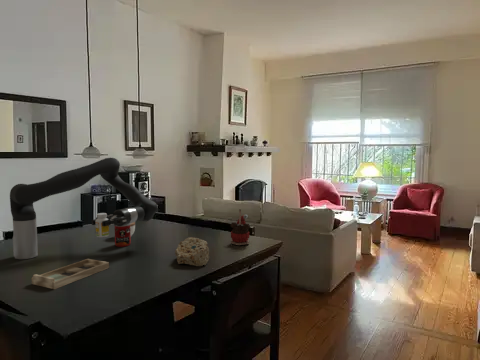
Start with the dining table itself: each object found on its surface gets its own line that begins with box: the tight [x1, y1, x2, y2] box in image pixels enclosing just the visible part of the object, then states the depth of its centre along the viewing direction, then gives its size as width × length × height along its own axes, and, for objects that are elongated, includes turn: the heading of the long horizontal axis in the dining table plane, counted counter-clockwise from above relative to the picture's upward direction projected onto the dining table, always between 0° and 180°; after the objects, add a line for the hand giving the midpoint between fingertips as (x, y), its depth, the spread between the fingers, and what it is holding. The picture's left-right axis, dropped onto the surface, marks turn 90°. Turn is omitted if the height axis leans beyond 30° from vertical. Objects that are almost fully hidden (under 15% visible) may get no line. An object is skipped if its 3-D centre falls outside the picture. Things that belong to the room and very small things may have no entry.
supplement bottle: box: [95, 212, 110, 238], centre depth 163 cm, size 5×5×10 cm
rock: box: [174, 236, 210, 267], centre depth 168 cm, size 21×14×10 cm
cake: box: [230, 208, 251, 246], centre depth 195 cm, size 11×9×18 cm
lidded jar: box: [130, 222, 136, 237], centre depth 210 cm, size 11×11×9 cm
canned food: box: [114, 224, 132, 248], centre depth 193 cm, size 8×8×11 cm
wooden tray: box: [31, 258, 110, 290], centre depth 147 cm, size 12×26×4 cm, turn 155°
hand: (97, 223), depth 161 cm, fingers closed on supplement bottle, 5 cm apart
